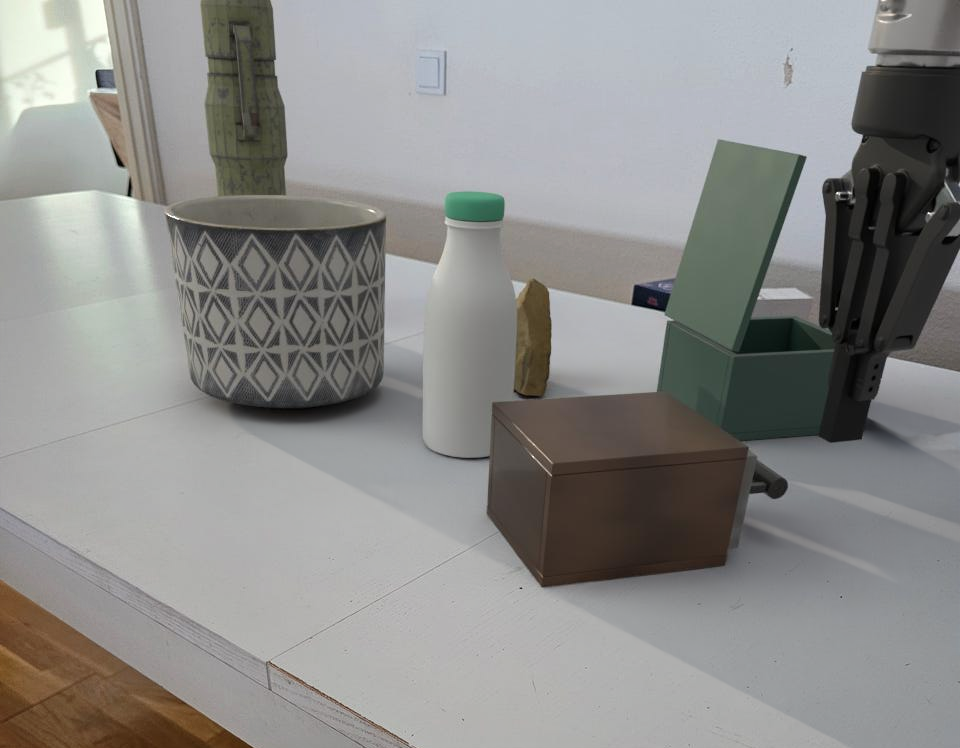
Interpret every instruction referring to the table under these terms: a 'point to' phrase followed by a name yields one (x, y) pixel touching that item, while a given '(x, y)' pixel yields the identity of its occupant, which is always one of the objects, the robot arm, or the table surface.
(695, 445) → the cabinet
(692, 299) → the lid
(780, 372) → the chest
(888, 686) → the table surface
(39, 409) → the table surface
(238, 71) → the thermos
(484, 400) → the milk bottle
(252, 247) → the planter
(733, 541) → the drawer
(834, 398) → the robot arm
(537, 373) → the rock
